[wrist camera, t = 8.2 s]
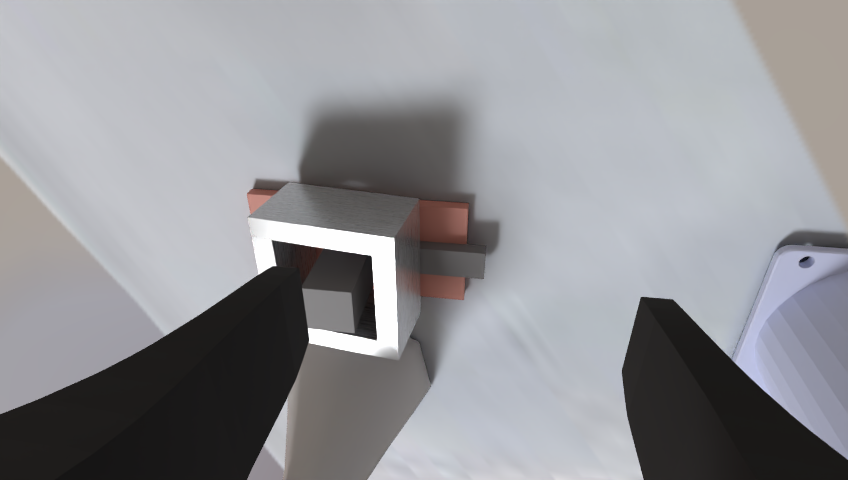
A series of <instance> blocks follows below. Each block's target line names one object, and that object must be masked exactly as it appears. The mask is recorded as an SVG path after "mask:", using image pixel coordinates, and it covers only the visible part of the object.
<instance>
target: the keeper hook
mask: <svg viewBox="0 0 848 480" xmlns="http://www.w3.org/2000/svg"><path fill="white" fill-rule="evenodd" d="M277 192H278V191H277V190H262V189H251V190H250V191H249V192H248V193H247V198H248V203H249V208H250V213H251V214H252V213H253V212H254V211H256V210H257V209H258V208H259V207H260V206H261V205H263V204H264V203H265V202H266V201H267V200H269V199H270V198H271V197H272V196H273V195H274V194H276V193H277ZM468 209H469V203H458V202H443V201H428V200H420V296H424V297H435V298H447V299H458V300H464V293H465V278H477V279H484V270H485V255H486V246H481V245H468V244H467V230H468ZM315 250H316V257H317V261H316V262H315V264H314V266H313V267H312V269H311V271H310V273H309V274H308V276H307V278H306V280H305V281H304V283H303V285H302V291H303V298H304V304H305V311H306V318H307V325H308V329H317V330H327V331H337V332H347V333H355V331H356V329H357V326H358V324H359V321H360V318H361V316H362V313H363V311H364V308H365V306H366V303H367V300H368V298H369V295H370V293H371V290H372V289H374V277H373V261H372V255H366V254H359V253H353V252H346V251H340V250H333V249H327V248H320V247H315Z"/></svg>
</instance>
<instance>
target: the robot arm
mask: <svg viewBox="0 0 848 480" xmlns="http://www.w3.org/2000/svg"><path fill="white" fill-rule="evenodd" d="M807 256H810V257H809V258H808V260H806V261H804V262H799V261H800V260H801V259H802V258H804V257H807ZM309 340H310V338H309V332H308V325H307V318H306V311H305V304H304V298H303V291H302V284H301V277H300V270H299V268H293V267H281V266H272V267H270V268H268V269H267V270H265V271H264V272H262V273H260V274H259V275H257V276H256V277H254V278H253V279H252V280H250V281H249V282H247V283H246V284H244V285H243V286H241V287H240V288H238V289H237V290H236V291H234V292H233V293H231V294H230V295H228V296H227V297H225V298H224V299H222V300H221V301H219V302H218V303H216V304H215V305H213V306H212V307H211V308H209V309H208V310H206V311H205V312H203V313H202V314H200V315H199V316H197V317H195V318H194V319H192V320H191V321H189V322H187V323H186V324H184V325H183V326H181V327H179V328H178V329H176V330H174V331H173V332H171V333H170V334H168V335H166V336H165V337H163V338H161V339H160V340H158V341H157V342H155V343H153V344H152V345H150V346H148V347H146V348H145V349H143V350H141V351H139V352H137V353H135V354H134V355H132V356H130V357H128V358H126V359H124V360H122V361H120V362H118V363H116V364H115V365H112V366H111V367H109V368H107V369H105V370H103V371H101V372H99V373H97V374H94V375H92V376H90V377H88V378H86V379H83V380H81V381H79V382H77V383H74V384H72V385H70V386H68V387H65V388H63V389H61V390H59V391H56V392H54V393H52V394H50V395H48V396H45V397H43V398H41V399H38V400H36V401H33V402H31V403H28V404H26V405H23V406H21V407H18V408H15V409H13V410H10V411H8V412H5V413H3V414H0V480H247V478H248V476H249V474H250V471H251V469H252V467H253V465H254V463H255V461H256V459H257V457H258V455H259V453H260V451H261V449H262V447H263V445H264V443H265V441H266V439H267V437H268V435H269V433H270V431H271V429H272V427H273V425H274V423H275V421H276V419H277V417H278V415H279V413H280V411H281V409H282V407H283V405H284V403H285V401H286V399H287V397H288V395H289V393H290V391H291V389H292V387H293V385H294V383H295V381H296V378H297V376H298V373H299V370H300V367H301V364H302V361H303V358H304V355H305V352H306V349H307V346H308V343H309ZM622 377H623V386H624V395H625V402H626V410H627V417H628V421H629V425H630V429H631V433H632V436H633V440H634V444H635V448H636V452H637V456H638V459H639V463H640V467H641V471H642V474H643V478H644V480H848V249H845V248H831V247H817V246H803V245H786V246H783V247H781V248H780V249H778V250H777V251H776V252H775V254H774V255H773V258H772V260H771V263H770V265H769V268H768V270H767V273H766V275H765V278H764V280H763V283H762V285H761V288H760V290H759V293H758V295H757V298H756V300H755V303H754V305H753V308H752V310H751V313H750V315H749V318H748V320H747V323H746V325H745V328H744V330H743V333H742V335H741V338H740V340H739V343H738V345H737V348H736V350H735V353H734V355H733V358H732V360H731V359H730V358H729V357H728V356H727V355H726V354H725V353H724V352H723V351H722V350H721V349H720V348H719V347H718V346H717V344H716V343H715V342H714V341H713V340H712V339H711V338H710V337H709V336H708V335H707V334H706V333H705V332H704V331H703V330H702V329H701V328H700V327H699V326H698V325H697V324H696V323H695V322H694V321H693V320H692V319H691V317H690V316H689V315H688V314H687V313H686V312H685V311H684V310H683V309H682V308H681V307H680V306H679V305H678V304H677V303H676V302H675V301H674V300H673V299H661V298H649V297H641V299H640V303H639V307H638V310H637V314H636V318H635V322H634V326H633V330H632V334H631V337H630V341H629V345H628V349H627V353H626V357H625V360H624V364H623V368H622Z"/></svg>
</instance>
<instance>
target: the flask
mask: <svg viewBox="0 0 848 480" xmlns="http://www.w3.org/2000/svg"><path fill="white" fill-rule="evenodd" d="M430 387H431V384H430V380H429V377H428V373H427V370H426V366H425V362H424V359H423V355H422V352H421V348H420V344H419V342H418V341H415V340H413V339H411V338H409V339H408V341H407V343H406V346H405V348H404V350H403V352H402V354H401V357H400V359H399V361H397V360H392V359H387V358H382V357H377V356H372V355H367V354H362V353H357V352H353V351H348V350H343V349H338V348H333V347H328V346H323V345H318V344H313V343H308V346H307V349H306V352H305V355H304V358H303V361H302V364H301V367H300V370H299V373H298V376H297V378H296V381H295V383H294V385H293V387H292V389H291V391H290V393H289V395H288V416H287V434H286V453H285V470H284V474H283V479H282V480H367V479H368V478H369V476H370V475H371V473H372V472H373V470H374V469H375V467H376V465H377V464H378V462H379V461H380V459H381V458H382V456H383V455H384V453H385V452H386V450H387V449H388V447H389V446H390V445H391V443H392V442H393V440H394V439H395V438H396V436H397V435H398V434H399V432H400V431H401V429H402V428H403V427H404V425H405V424H406V422H407V421H408V419H409V418H410V417H411V415H412V414H413V412H414V411H415V409H416V408H417V407H418V405H419V404H420V402H421V401H422V399H423V398H424V396H425V395H426V393H427V392H428V390H429V389H430Z"/></svg>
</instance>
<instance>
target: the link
mask: <svg viewBox="0 0 848 480" xmlns="http://www.w3.org/2000/svg"><path fill="white" fill-rule="evenodd" d="M248 222H249V227H250V232H251V237H252V242H253V247H254V252H255V257H256V262H257V267H258V272H259V274H260V273H262V272H264V271H265V270H267V269H268V268H270V267H272V266H281V267H293V268H299V270H300V277H301V284H302V285H303V283H304V281H305V280H306V278H307V276H308V274H309V273H310V271H311V269H312V267H313V266H314V264H315V262H316V261H317V257H316V250H315V247H320V248H327V249H333V250H340V251H346V252H353V253H359V254H366V255H372V261H373V277H374V289H372V290H371V293H370V295H369V298H368V300H367V303H366V306H365V308H364V311H363V313H362V316H361V318H360V321H359V324H358V326H357V329H356V331H355V333H347V332H337V331H327V330H317V329H308V332H309V338H310V340H309V343H313V344H318V345H323V346H328V347H333V348H338V349H343V350H348V351H353V352H357V353H362V354H367V355H372V356H377V357H382V358H387V359H392V360H397V361H399V359H400V357H401V354H402V352H403V350H404V348H405V346H406V343H407V341H408V339H409V337H410V335H411V332H412V330H413V328H414V326H415V324H416V322H417V319H418V317H419V315H420V313H421V298H420V199H419V198H411V197H403V196H395V195H387V194H379V193H371V192H363V191H355V190H347V189H339V188H331V187H323V186H315V185H307V184H299V183H291V182H288V183H287V184H286V185H285V186H284V187H283V188H281V189H280V190H279V191H278V192H277V193H276V194H274V195H273V196H272V197H271V198H270V199H269V200H267V201H266V202H265V203H264V204H263V205H261V206H260V207H259V208H258V209H257V210H256V211H254V212H253V213H252V214H251V215H250V216H249V217H248Z"/></svg>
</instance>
